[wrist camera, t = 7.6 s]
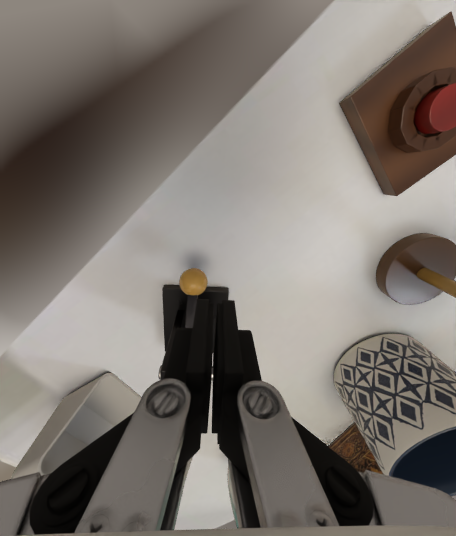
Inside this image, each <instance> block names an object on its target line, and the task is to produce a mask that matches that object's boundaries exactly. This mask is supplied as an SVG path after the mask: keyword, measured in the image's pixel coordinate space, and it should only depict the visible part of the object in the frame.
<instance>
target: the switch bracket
mask: <svg viewBox="0 0 456 536" xmlns="http://www.w3.org/2000/svg"><path fill="white" fill-rule="evenodd" d="M228 293H229V291H228V288H221V287H206V289H205V291H204V292H203V293H201V294H200V295H198V299H209V303H214V310H213V348H212V353H214V339H215V326H216V314H217V303H222V300H228ZM187 296H188V295H187V294H185V293H184V292H183V291H182V289H181V287H180V286H179V285H164V287H163V314H164V339H165V351H166V353H165V356H164V360H163V363H162V365H161V366H160V369H159V379H160V380H163V379H164V376H165V372H166V368H167V364H168V360H169V356H170V352H171V348H172V344H173V340H174V336H175V332H176V329H177V328H185V326H186V311H187ZM211 380H213V367H212V377H211Z"/></svg>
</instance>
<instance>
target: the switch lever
mask: <svg viewBox="0 0 456 536" xmlns="http://www.w3.org/2000/svg"><path fill="white" fill-rule="evenodd" d="M179 283H180V287H181V289H182V291H183V292H184V293H185V294H187V295H188V296H187V311H186V326H185V328H193V323H194V316H195V310H196V303H197V299H198V295H200V294H201V293H203V292H204V291H205V289H206V287H207V283H208V281H207V277H206V275H205V273H204V272H203V271H201V270H200V269H197V268H191V269H188V270H186V271H184V272H183V274H182V275H181V277H180V281H179Z"/></svg>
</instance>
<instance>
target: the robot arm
mask: <svg viewBox="0 0 456 536" xmlns="http://www.w3.org/2000/svg"><path fill="white" fill-rule="evenodd" d="M213 310H214V303H209V299H197V303H196V310H195V316H194V323H193V328H177V329H176V332H175V336H174V340H173V344H172V348H171V352H170V356H169V360H168V364H167V368H166V372H165V376H164V379H163V380H159V381H158V382H156V383H154V384H152V385H151V386H150V387H149V388H148V389H147V390H146V391H145V393H144V394H143V396H142V398H141V400H140V402H139V404H138V406H137V408H136V410H135V412H134V413H133V414H131V415H130V416H128V417H127V418H126V419H124V420H123V421H121V422H120V423H119V424H117V425H116V426H114V427H113V428H112V429H110V430H109V431H107V432H106V433H105V434H103V435H102V436H100V437H99V438H98V439H96V440H95V441H93V442H92V443H91V444H89V445H88V446H86V447H85V448H84V449H82V450H81V451H79V452H78V453H77V454H75V455H74V456H72V457H71V458H70V459H68V460H67V461H66V462H64V463H63V464H61V465H60V466H59V467H58V468H57V469H55V470H54V471H53V472H52V473H49V474H45V475H42V476H41V474H40V472H37V473H33V474H29V475H25V476H21V477H17V478H14V479H10V480H6V481H2V482H0V536H456V500H455V499H454V498H452V497H451V496H450V495H448V494H447V493H445V492H442V491H440V490H438V489H436V488H432V487H428V486H424V485H421V484H417V483H413V482H410V481H406V480H402V479H399V478H395V477H391V476H387V475H384V474H380V473H376V472H373V471H369V470H365V472H364V473H362V472H358V471H357V470H356V469H355V468H354V467H353V466H352V465H351V464H350V463H348V462H347V461H346V460H345V459H343V458H342V457H341V456H340V455H338V454H337V453H336V452H335V451H333V450H332V449H331V448H330V447H328V446H327V445H326V444H325V443H323V442H322V441H321V440H320V439H318V438H317V437H316V436H314V435H313V434H312V433H311V432H309V431H308V430H307V429H306V428H304V427H303V426H302V425H301V424H299V423H298V422H297V421H296V420H294V419H293V418H292V417H291V416H290V413H289V411H288V409H287V407H286V404H285V402H284V400H283V398H282V396H281V394H280V393H279V391H278V390H277V389H276V388H275V387H274V386H272V385H270V384H268V383H266V382H263V381H262V380H261V375H260V370H259V365H258V361H257V356H256V351H255V347H254V342H253V337H252V333H251V331H250V330H238V326H237V318H236V310H235V303H234V301H230V300H222V303H217V314H216V326H215V339H214V353H213V400H212V433H218V444H219V449H220V450H221V451H222V452H223V453H224V454H225V455H226V457H227V458H228V465H229V471H230V477H231V483H232V490H233V496H234V502H235V508H236V514H237V520H238V526H239V529H201V530H174V528H175V523H176V519H177V514H178V510H179V505H180V501H181V496H182V492H183V487H184V483H185V478H186V474H187V469H188V464H189V460H190V459H191V458H192V457H193V455H194V454H195V453H196V452H197V451H198V450H199V449H200V440H201V433H207V428H208V415H209V403H210V390H211V377H212V348H213Z"/></svg>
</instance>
